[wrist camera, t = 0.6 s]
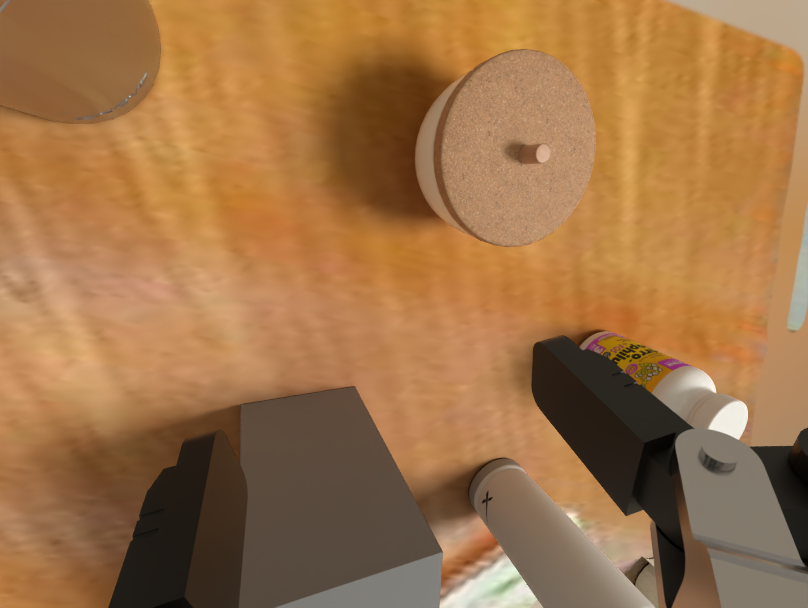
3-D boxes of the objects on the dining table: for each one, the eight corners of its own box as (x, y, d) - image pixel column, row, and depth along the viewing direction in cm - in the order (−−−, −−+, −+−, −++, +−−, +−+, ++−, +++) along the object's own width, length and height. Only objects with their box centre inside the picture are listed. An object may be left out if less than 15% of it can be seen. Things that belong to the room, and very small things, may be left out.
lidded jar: (442, 44, 27) (530, -15, 19) (543, 138, 32) (648, 125, 24) (365, 184, 28) (416, 187, 20) (474, 256, 33) (553, 283, 25)
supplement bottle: (618, 319, 41) (763, 375, 30) (619, 374, 43) (753, 444, 32) (565, 343, 39) (697, 411, 28) (569, 398, 42) (693, 482, 30)
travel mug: (455, 487, 39) (629, 743, 22) (507, 445, 40) (715, 657, 23) (479, 522, 42) (653, 774, 24) (528, 482, 43) (728, 697, 25)
